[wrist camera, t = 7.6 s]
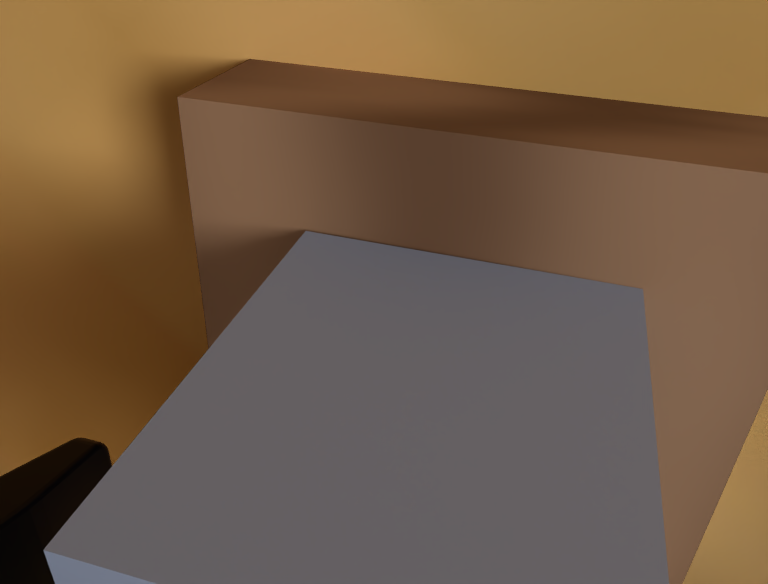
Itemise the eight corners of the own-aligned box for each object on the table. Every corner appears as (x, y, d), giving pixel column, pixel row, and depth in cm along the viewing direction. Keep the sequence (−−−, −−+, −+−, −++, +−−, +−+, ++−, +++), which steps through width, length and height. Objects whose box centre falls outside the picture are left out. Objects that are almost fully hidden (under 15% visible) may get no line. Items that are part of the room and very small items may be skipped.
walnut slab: (799, 112, 11) (856, 184, 8) (655, 506, 15) (663, 627, 13) (263, 52, 12) (177, 96, 10) (283, 419, 17) (228, 510, 15)
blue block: (643, 289, 10) (683, 740, 5) (573, 525, 12) (551, 966, 7) (306, 230, 11) (43, 549, 6) (310, 460, 13) (134, 811, 8)
